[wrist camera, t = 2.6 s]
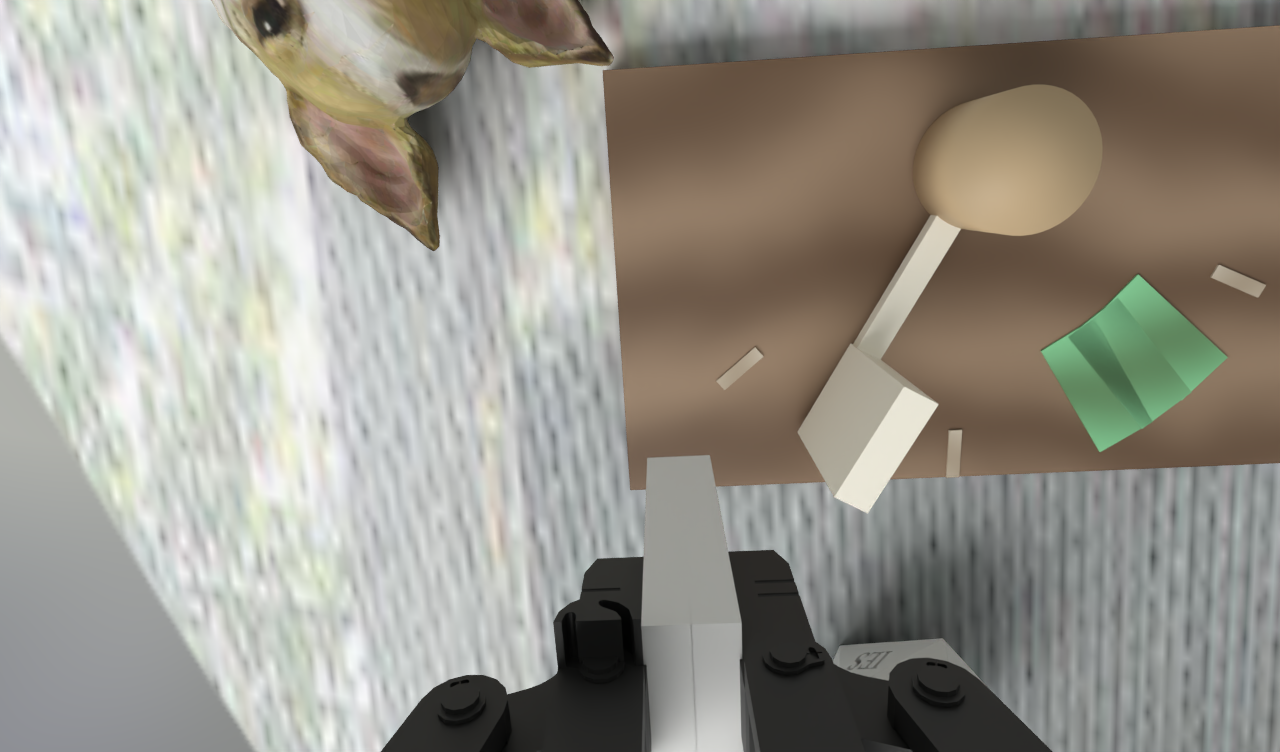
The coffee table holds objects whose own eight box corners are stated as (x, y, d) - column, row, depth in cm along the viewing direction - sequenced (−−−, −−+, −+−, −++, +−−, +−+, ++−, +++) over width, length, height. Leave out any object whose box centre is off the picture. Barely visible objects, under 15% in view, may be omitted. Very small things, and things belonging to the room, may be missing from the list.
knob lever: (858, 462, 28) (911, 535, 22) (761, 414, 27) (789, 474, 21) (1065, 136, 24) (1192, 120, 19) (957, 76, 24) (1053, 39, 18)
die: (898, 558, 32) (805, 705, 25) (1092, 689, 28) (1047, 902, 21) (829, 656, 36) (735, 803, 29) (988, 779, 33) (923, 977, 26)
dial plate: (1254, 449, 29) (1287, 463, 28) (631, 475, 30) (630, 491, 29) (1330, 29, 25) (1374, 18, 23) (605, 77, 26) (602, 69, 24)
